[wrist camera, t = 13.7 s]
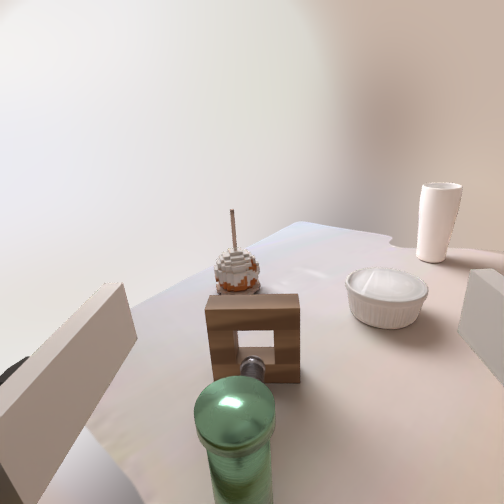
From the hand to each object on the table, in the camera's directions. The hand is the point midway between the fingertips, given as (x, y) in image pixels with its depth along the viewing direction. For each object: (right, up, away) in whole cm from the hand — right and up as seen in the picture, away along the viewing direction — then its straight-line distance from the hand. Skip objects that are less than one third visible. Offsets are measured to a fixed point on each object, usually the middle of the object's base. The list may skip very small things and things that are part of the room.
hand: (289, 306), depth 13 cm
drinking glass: (+35, +1, +54) cm, 64 cm away
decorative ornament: (-4, -5, +46) cm, 46 cm away
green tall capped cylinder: (-2, -16, +16) cm, 23 cm away
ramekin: (+18, -7, +37) cm, 42 cm away
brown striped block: (-1, -12, +26) cm, 29 cm away
